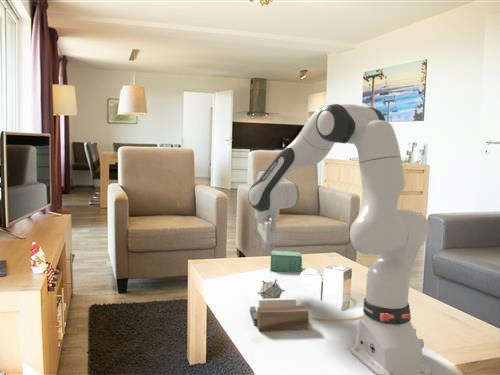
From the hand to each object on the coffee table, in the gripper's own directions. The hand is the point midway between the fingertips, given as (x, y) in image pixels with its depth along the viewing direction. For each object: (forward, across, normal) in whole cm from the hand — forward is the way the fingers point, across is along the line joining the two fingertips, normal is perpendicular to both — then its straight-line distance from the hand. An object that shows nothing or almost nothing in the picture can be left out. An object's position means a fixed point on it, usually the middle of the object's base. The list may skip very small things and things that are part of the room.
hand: (265, 249), depth 171 cm
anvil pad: (+16, -24, 0) cm, 29 cm away
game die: (+16, -12, 0) cm, 20 cm away
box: (+16, +27, -14) cm, 35 cm away
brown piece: (+16, -28, 0) cm, 32 cm away
